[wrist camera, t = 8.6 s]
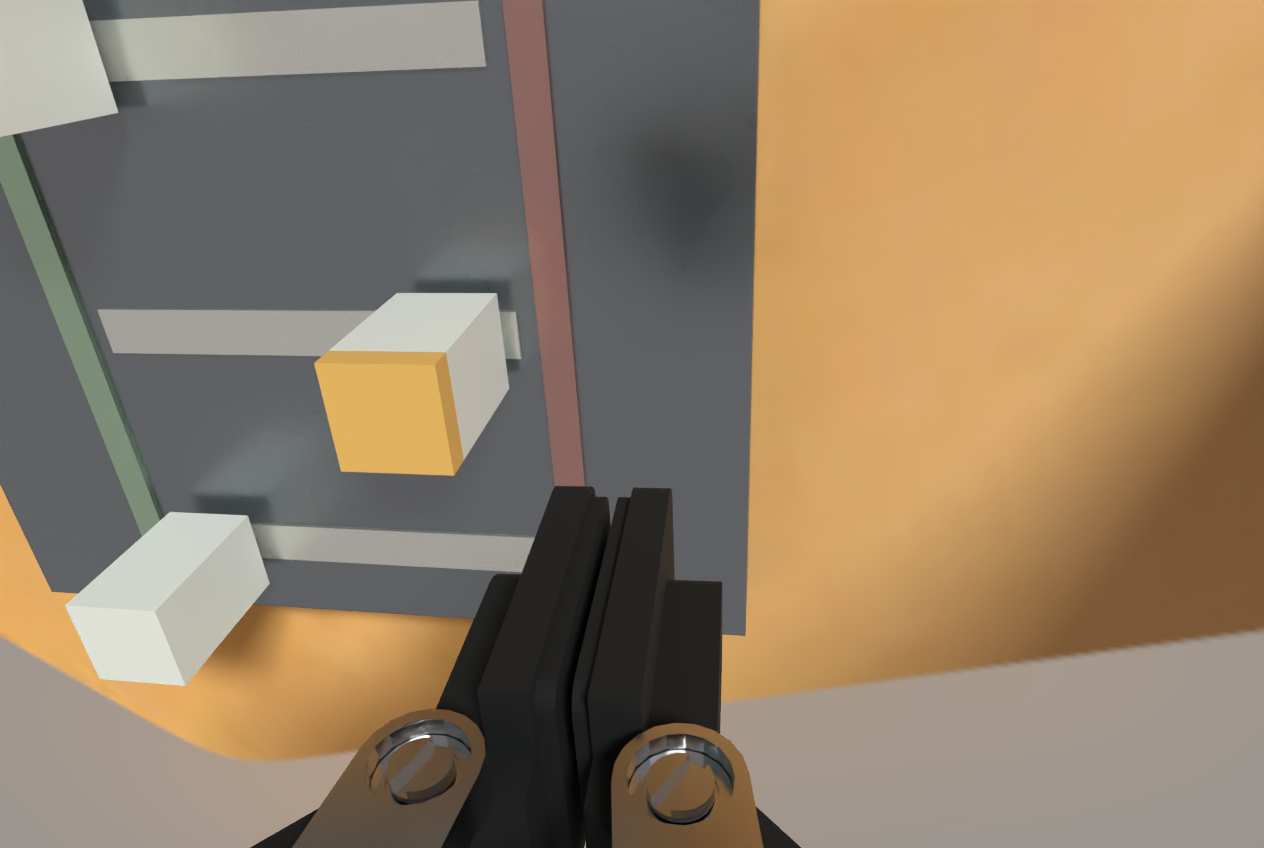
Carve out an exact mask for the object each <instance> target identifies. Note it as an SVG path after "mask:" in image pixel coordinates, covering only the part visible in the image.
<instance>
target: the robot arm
mask: <svg viewBox="0 0 1264 848" xmlns="http://www.w3.org/2000/svg"><path fill="white" fill-rule="evenodd" d="M721 673H722V582H720V581H692V580H675V572H674V536H673V501H672V490H671V488H637V487H634V488H633V490H632V493H631V497H618V499H617V503H616V507H615V511H614V515H613V520H612V524H610V510H609V501H608V498H607V497H596V494H595V490H594V488H593V487H592V486H555V487H554V489H553V491H552V493H551V496H550V499H549V501H548V504H547V507H546V509H545V512H544V515H543V517H542V520H541V523H540V525H539V528H538V531H537V533H536V536H535V539H534V541H533V544H532V547H531V549H530V552H529V555H528V557H527V560H526V562H525V565H524V568H523V570H522V573H521V574H496V575H494V576H493V578H492V579H491V581H490V583H489V585H488V588H487V590H486V592H485V595H484V597H483V599H482V602H481V604H480V606H479V609H478V611H477V613H476V616H475V618H474V621H473V623H472V625H471V628H470V630H469V632H468V635H467V637H466V639H465V642H464V644H463V646H462V649H461V651H460V654H459V656H458V658H457V661H456V663H455V665H454V668H453V670H452V672H451V675H450V677H449V680H448V682H447V684H446V687H445V689H444V691H443V694H442V696H441V698H440V701H439V703H438V705H437V708H436V709H427V710H422V711H416V712H411V713H408V714H406V715H404V716H401V717H399V718H396V719H394V720H392V721H390V722H389V723H387V724H386V725H384V726H383V727H381V728H380V729H379V730H377V731H376V732H374V733H373V734H372V736H371V737H370V738H369V739H368V740H367V741H366V742H365V743H364V744H363V746H362V747H361V748H360V749H359V751H358V752H357V754H356V755H355V757H354V758H353V760H352V761H351V762H350V764H349V765H348V767H347V768H346V770H345V771H344V773H343V774H342V775H341V777H340V778H339V780H338V781H337V783H336V784H335V786H334V787H333V789H332V790H331V791H330V793H329V794H328V796H327V797H326V799H325V800H324V802H323V803H322V805H321V806H320V807H319V808H318V809H317V810H315V811H313V812H312V813H310V814H308V815H306V816H305V817H303V818H301V819H299V820H298V821H296V822H295V823H293V824H291V825H289V826H287V827H285V828H284V829H282V830H280V831H279V832H277V833H275V834H273V835H272V836H270V837H268V838H266V839H265V840H263V841H261V842H259V843H258V844H256V845H254V846H253V847H251V848H584V846H585V840H586V848H801V847H800V846H799V845H797V844H796V843H795V842H794V841H793V840H792V839H791V838H790V837H789V836H788V835H786V834H785V833H784V832H783V831H782V830H781V829H780V828H779V827H778V826H777V825H776V824H774V823H773V822H772V821H771V820H770V819H769V818H768V817H767V816H766V815H764V813H762V812H761V811H760V810H759V809H758V808H757V807H756V806H755V801H754V796H753V791H752V786H751V780H750V775H749V772H748V769H747V766H746V764H745V761H744V758H743V756H742V754H741V753H740V752H739V751H738V750H737V749H736V747H735V746H734V745H733V744H732V743H731V741H730V740H728V739H726V738H725V737H723V736H722V735H720V712H721V710H720V709H721Z"/></svg>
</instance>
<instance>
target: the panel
mask: <svg viewBox="0 0 1264 848" xmlns="http://www.w3.org/2000/svg"><path fill="white" fill-rule="evenodd" d="M82 1H83V4H84V7H85V10H86V13H87V16H88V19H89V23H90V26H91V29H92V32H93V35H94V38H95V41H96V44H97V47H98V51H99V54H100V57H101V60H102V63H103V66H104V69H105V72H106V75H107V79H108V82H109V85H110V88H111V91H112V94H113V97H114V100H115V103H116V107H117V110H118V113H115V114H110V115H105V116H100V117H96V118H91V119H86V120H81V121H76V122H71V123H66V124H61V125H57V126H52V127H47V128H42V129H37V130H32V131H27V132H22V133H18V134H13V135H8V136H3V137H0V485H1V487H2V489H3V491H4V493H5V495H6V497H7V499H8V501H9V504H10V506H11V508H12V510H13V512H14V514H15V516H16V518H17V520H18V522H19V524H20V526H21V528H22V531H23V533H24V535H25V537H26V539H27V541H28V543H29V545H30V547H31V549H32V551H33V553H34V555H35V558H36V560H37V562H38V564H39V566H40V568H41V570H42V572H43V574H44V576H45V578H46V580H47V582H48V585H49V587H50V589H51V591H52V592H65V593H80V592H81V591H82V590H83V589H84V588H85V587H86V586H87V585H89V584H90V583H91V582H92V581H93V580H94V579H95V578H96V577H97V576H99V575H100V574H101V573H102V572H103V571H104V570H105V569H106V568H108V567H109V566H110V565H111V564H112V563H113V562H114V561H115V560H117V559H118V558H119V557H120V556H121V555H122V554H123V553H124V552H126V551H127V550H128V549H129V548H130V547H131V546H132V545H133V544H135V543H136V542H137V541H138V540H139V539H140V538H141V537H142V536H144V535H145V534H146V533H147V532H148V531H149V530H150V529H151V528H152V527H154V526H155V525H156V524H157V523H158V522H159V521H160V520H161V519H163V518H164V517H165V516H166V515H167V514H168V513H169V512H183V513H205V514H226V515H248V517H249V521H250V524H251V527H252V530H253V533H254V536H255V539H256V542H257V545H258V549H259V552H260V555H261V558H262V561H263V564H264V567H265V570H266V573H267V577H268V580H269V583H270V584H269V585H268V586H267V588H266V589H265V590H264V591H263V592H262V594H261V595H260V596H259V597H258V598H257V600H256V601H255V602H254V603H253V604H254V605H269V606H285V607H301V608H316V609H332V610H348V611H363V612H379V613H395V614H411V615H426V616H442V617H458V618H473V619H474V618H475V616H476V613H477V611H478V609H479V606H480V604H481V602H482V599H483V597H484V595H485V592H486V590H487V588H488V585H489V583H490V581H491V579H492V578H493V576H494V575H496V574H521V573H522V570H523V568H524V565H525V562H526V560H527V557H528V555H529V552H530V549H531V547H532V544H533V541H534V539H535V536H536V533H537V531H538V528H539V525H540V523H541V520H542V517H543V515H544V512H545V509H546V507H547V504H548V501H549V499H550V496H551V493H552V491H553V489H554V487H555V486H592V487H593V488H594V490H595V494H596V497H607V498H608V501H609V510H610V524H612V520H613V515H614V511H615V507H616V503H617V499H618V497H631V493H632V490H633V488H634V487H637V488H671V490H672V501H673V536H674V572H675V580H692V581H720V582H722V634H725V635H740V636H745V630H746V600H747V562H748V518H749V474H750V431H751V387H752V344H753V300H754V256H755V213H756V169H757V126H758V82H759V38H760V0H82ZM396 293H497V298H498V306H499V313H500V321H501V329H502V336H503V344H504V352H505V360H506V367H507V375H508V383H509V390H508V391H507V393H506V394H505V396H504V398H503V399H502V401H501V402H500V404H499V406H498V407H497V409H496V410H495V412H494V413H493V415H492V417H491V418H490V420H489V421H488V423H487V425H486V426H485V428H484V429H483V431H482V432H481V434H480V436H479V437H478V439H477V440H476V442H475V444H474V445H473V447H472V448H471V450H470V451H469V453H468V455H467V456H466V458H465V459H464V461H463V463H462V464H461V466H460V467H459V469H458V470H457V472H456V474H455V475H454V476H449V475H422V474H395V473H368V472H341V469H340V465H339V461H338V457H337V453H336V449H335V445H334V441H333V437H332V433H331V429H330V425H329V421H328V417H327V413H326V409H325V405H324V401H323V397H322V393H321V389H320V385H319V381H318V377H317V373H316V369H315V365H314V363H315V362H316V361H317V360H318V359H319V358H321V357H322V356H323V355H324V354H325V353H327V352H328V351H329V350H330V349H331V348H332V347H334V346H335V345H336V344H337V343H338V342H340V341H341V340H342V339H343V338H344V337H345V336H347V335H348V334H349V333H350V332H351V331H353V330H354V329H355V328H356V327H357V326H358V325H360V324H361V323H362V322H363V321H364V320H366V319H367V318H368V317H369V316H370V315H371V314H373V313H374V312H375V311H376V310H377V309H379V308H380V307H381V306H382V305H383V304H384V303H386V302H387V301H388V300H389V299H390V298H392V297H393V296H394V295H395V294H396Z"/></svg>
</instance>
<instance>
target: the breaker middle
mask: <svg viewBox="0 0 1264 848" xmlns="http://www.w3.org/2000/svg"><path fill="white" fill-rule="evenodd" d="M314 365H315V369H316V373H317V377H318V381H319V385H320V389H321V393H322V397H323V401H324V405H325V409H326V413H327V417H328V421H329V425H330V429H331V433H332V437H333V441H334V445H335V449H336V453H337V457H338V461H339V465H340V469H341V472H368V473H395V474H422V475H449V476H454V475H455V474H456V472H457V470H458V469H459V467H460V466H461V464H462V463H463V461H464V459H465V458H466V456H467V455H468V453H469V451H470V450H471V448H472V447H473V445H474V444H475V442H476V440H477V439H478V437H479V436H480V434H481V432H482V431H483V429H484V428H485V426H486V425H487V423H488V421H489V420H490V418H491V417H492V415H493V413H494V412H495V410H496V409H497V407H498V406H499V404H500V402H501V401H502V399H503V398H504V396H505V394H506V393H507V391H508V390H509V383H508V375H507V367H506V360H505V352H504V344H503V336H502V329H501V321H500V313H499V306H498V298H497V293H396V294H395V295H394V296H393V297H392V298H390V299H389V300H388V301H387V302H386V303H384V304H383V305H382V306H381V307H380V308H379V309H377V310H376V311H375V312H374V313H373V314H371V315H370V316H369V317H368V318H367V319H366V320H364V321H363V322H362V323H361V324H360V325H358V326H357V327H356V328H355V329H354V330H353V331H351V332H350V333H349V334H348V335H347V336H345V337H344V338H343V339H342V340H341V341H340V342H338V343H337V344H336V345H335V346H334V347H332V348H331V349H330V350H329V351H328V352H327V353H325V354H324V355H323V356H322V357H321V358H319V359H318V360H317V361H316V362H315V363H314Z"/></svg>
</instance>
